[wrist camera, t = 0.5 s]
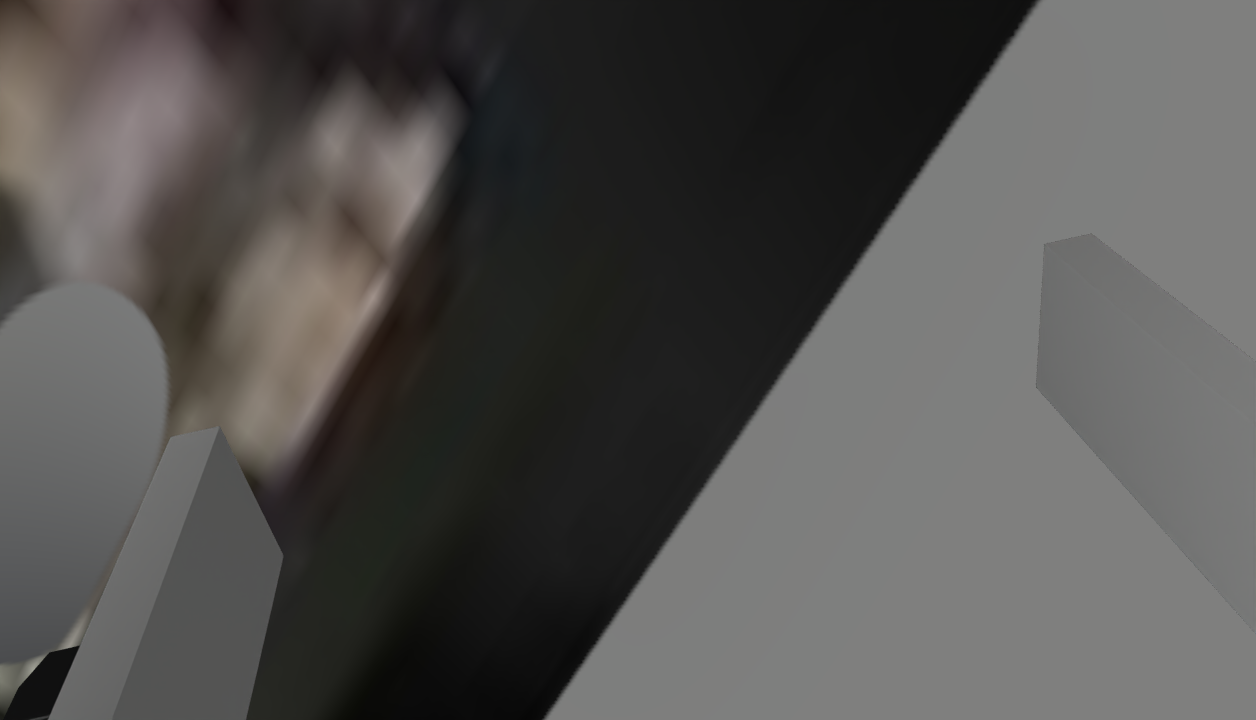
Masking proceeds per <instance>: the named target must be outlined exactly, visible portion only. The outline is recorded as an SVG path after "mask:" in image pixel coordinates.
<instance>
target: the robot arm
mask: <svg viewBox="0 0 1256 720" xmlns="http://www.w3.org/2000/svg"><path fill="white" fill-rule="evenodd" d="M1036 388H1037V389H1038V390H1039V391H1040V392H1041V393H1042V394H1043V395H1044V397H1045V398H1046V399H1047V400H1048V401H1049V402H1050V403H1051V404H1052V406H1054V408H1055V409H1056V410H1057V411H1058V412H1059V413H1060V414H1061V416H1062V417H1063V418H1064V419H1065V420H1066V421H1067V422H1068V423H1069V425H1070V426H1071V427H1072V428H1073V429H1074V430H1075V431H1076V433H1077V434H1078V435H1079V436H1080V437H1081V438H1082V439H1083V440H1084V442H1085V443H1086V444H1087V445H1088V446H1089V447H1090V448H1091V449H1092V450H1093V452H1095V454H1096V455H1097V456H1098V457H1099V458H1100V459H1101V461H1102V462H1103V463H1104V464H1105V465H1106V466H1107V467H1108V468H1109V470H1110V471H1111V472H1112V473H1113V474H1114V475H1115V476H1116V477H1117V478H1118V480H1119V481H1120V482H1121V483H1122V484H1123V485H1124V486H1125V488H1126V489H1127V490H1128V491H1129V492H1130V493H1131V494H1132V495H1133V496H1134V498H1135V499H1136V500H1137V501H1138V502H1139V503H1140V504H1141V506H1142V507H1143V508H1144V509H1145V510H1146V511H1147V512H1148V513H1149V514H1150V516H1151V517H1152V518H1153V519H1154V520H1155V521H1156V522H1157V524H1158V525H1159V526H1160V527H1161V528H1162V529H1163V530H1164V531H1165V532H1166V534H1167V535H1168V536H1169V537H1170V538H1171V539H1172V540H1173V542H1174V543H1175V544H1176V545H1177V546H1178V547H1179V548H1180V549H1181V550H1182V552H1183V553H1184V554H1185V555H1186V556H1187V557H1188V558H1189V559H1190V561H1191V562H1192V563H1193V564H1194V565H1195V566H1196V567H1197V568H1198V570H1199V571H1200V572H1201V573H1202V574H1203V575H1204V576H1205V577H1206V579H1207V580H1208V581H1209V582H1210V583H1211V584H1212V585H1213V586H1214V588H1215V589H1216V590H1217V591H1218V592H1219V593H1220V594H1221V595H1222V597H1223V598H1224V599H1225V600H1226V601H1227V602H1228V603H1229V604H1230V606H1231V607H1232V608H1233V609H1234V610H1235V611H1236V612H1237V613H1238V615H1239V616H1240V617H1241V618H1242V619H1243V620H1244V621H1245V622H1246V623H1247V625H1248V626H1249V627H1250V628H1251V629H1252V630H1253V631H1254V632H1255V634H1256V361H1255V360H1253V359H1252V358H1251V357H1250V356H1248V355H1247V354H1245V353H1244V352H1243V351H1242V350H1241V349H1239V348H1238V347H1237V346H1235V345H1234V344H1233V343H1232V342H1230V341H1229V340H1228V339H1226V338H1225V337H1224V336H1223V335H1221V334H1220V333H1218V332H1217V331H1216V330H1215V329H1214V328H1212V327H1211V326H1210V325H1208V324H1207V323H1206V322H1205V321H1203V320H1202V319H1200V318H1199V317H1198V316H1197V315H1196V314H1194V313H1193V312H1192V311H1190V310H1189V309H1188V308H1187V307H1185V306H1184V305H1183V304H1181V303H1180V302H1179V301H1178V300H1176V299H1175V298H1174V297H1172V296H1171V295H1170V294H1169V293H1167V292H1166V291H1165V290H1163V289H1162V288H1161V287H1159V286H1158V285H1157V284H1156V283H1154V282H1153V281H1151V280H1150V279H1149V278H1148V277H1147V276H1145V275H1144V274H1143V273H1141V272H1140V271H1139V270H1138V269H1136V268H1135V267H1134V266H1132V265H1131V264H1129V262H1127V261H1126V260H1125V259H1123V258H1122V257H1121V256H1120V255H1118V254H1117V253H1116V252H1114V251H1113V250H1112V249H1110V248H1109V247H1108V246H1107V245H1105V244H1104V243H1103V242H1102V241H1100V240H1099V239H1097V238H1096V237H1095V236H1094V235H1092V234H1088V235H1083V236H1078V237H1074V238H1069V239H1065V240H1061V241H1056V242H1051V243H1047V244H1044V258H1043V276H1042V293H1041V310H1040V328H1039V345H1038V364H1037V380H1036ZM282 560H283V554H282V552H281V550H280V548H279V546H278V544H277V542H276V540H275V538H274V536H273V534H272V532H271V530H270V528H269V526H268V523H267V521H266V519H265V517H264V515H263V513H262V511H261V509H260V507H259V505H258V503H257V501H256V499H255V497H254V495H253V493H252V491H251V489H250V487H249V485H248V483H247V481H246V479H245V477H244V475H243V472H242V470H241V468H240V466H239V464H238V462H237V460H236V458H235V456H234V454H233V452H232V450H231V448H230V446H229V444H228V442H227V440H226V438H225V436H224V434H223V432H222V430H221V428H220V426H219V427H214V428H210V429H205V430H201V431H196V432H191V433H187V434H182V435H178V436H173V437H171V438H170V440H169V442H168V444H167V447H166V449H165V451H164V454H163V456H162V458H161V461H160V463H159V465H158V468H157V470H156V472H155V474H154V477H153V479H152V481H151V484H150V486H149V488H148V491H147V493H146V495H145V497H144V500H143V502H142V504H141V507H140V509H139V511H138V514H137V516H136V518H135V521H134V523H133V525H132V527H131V530H130V532H129V534H128V537H127V539H126V541H125V544H124V546H123V548H122V550H121V553H120V555H119V557H118V560H117V562H116V564H115V567H114V569H113V571H112V573H111V576H110V578H109V580H108V583H107V585H106V587H105V590H104V592H103V594H102V597H101V599H100V601H99V603H98V606H97V608H96V610H95V613H94V615H93V617H92V620H91V622H90V624H89V626H88V629H87V631H86V633H85V636H84V638H83V640H82V643H81V645H80V646H76V647H72V648H68V649H63V650H59V651H54V652H50V653H49V654H48V655H47V656H46V657H45V658H44V659H43V661H42V662H41V663H40V664H39V665H38V666H37V667H36V668H35V670H34V671H33V672H32V673H31V674H30V675H29V676H28V678H27V679H26V680H25V681H24V682H23V683H22V684H21V686H20V687H19V688H18V690H17V692H16V694H15V696H14V698H13V700H12V702H11V704H10V707H9V709H8V711H7V713H6V715H5V717H4V719H3V720H246V716H247V712H248V708H249V703H250V699H251V695H252V690H253V686H254V682H255V677H256V673H257V669H258V664H259V660H260V656H261V651H262V647H263V643H264V638H265V634H266V629H267V625H268V621H269V616H270V612H271V608H272V603H273V599H274V595H275V590H276V586H277V582H278V577H279V573H280V569H281V564H282Z"/></svg>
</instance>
